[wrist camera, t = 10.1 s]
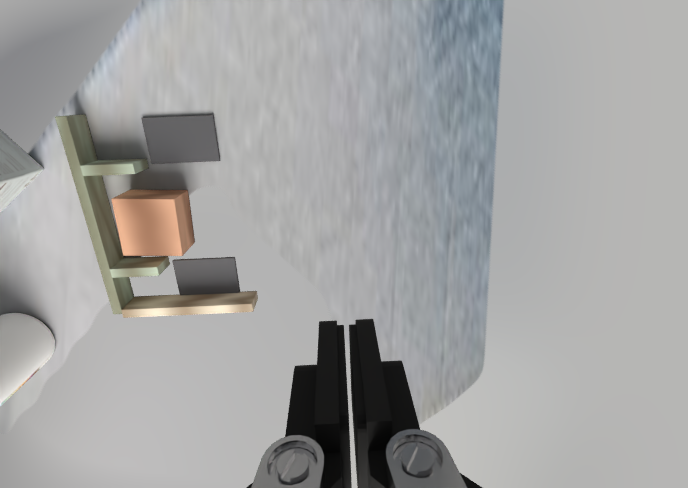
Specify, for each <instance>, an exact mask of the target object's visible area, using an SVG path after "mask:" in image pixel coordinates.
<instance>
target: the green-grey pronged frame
mask: <svg viewBox="0 0 688 488" xmlns="http://www.w3.org/2000/svg"><path fill="white" fill-rule="evenodd" d="M55 118H56V122H57V125H58V129H59V132H60V135H61V139H62V142H63V145H64V149H65V152H66V156H67V159H68V162H69V166H70V169H71V172H72V176H73V179H74V183H75V186H76V189H77V193H78V196H79V200H80V203H81V206H82V210H83V213H84V216H85V220H86V223H87V227H88V230H89V233H90V237H91V240H92V243H93V247H94V250H95V254H96V257H97V260H98V264H99V267H100V270H101V274H102V277H103V281H104V284H105V287H106V291H107V294H108V297H109V301H110V304H111V308H112V311H113V314H123V317H124V318H128V317H149V316H170V315H193V314H214V313H236V312H253V311H254V307H255V305H256V302H257V299H258V297H257V291H247V292H240V293H225V294H203V295H181V296H180V295H159V296H139V297H134V294H133V290H132V287H131V283H130V279H129V277H141V276H159V275H160V274H161V273H162V272H163V271H164V270H165V269H166V268H167V267H168V266H169V264H170V262H169V258H168V256H159V257H136V258H124V257H123V253H122V249H121V246H120V242H119V238H118V234H117V231H116V227H115V223H114V219H113V216H112V212H111V208H110V204H109V201H108V197H107V193H106V189H105V186H104V182H103V178H102V175H121V174H136V173H139V172H141V171H143V170H146V169H148V168H149V167H148V163H147V159H122V160H97V156H96V152H95V148H94V145H93V141H92V137H91V133H90V130H89V126H88V122H87V119H86V115H69V116H58V117H55Z"/></svg>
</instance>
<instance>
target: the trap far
mask: <svg viewBox="0 0 688 488" xmlns="http://www.w3.org/2000/svg"><path fill="white" fill-rule="evenodd" d="M173 265H174V270H175V274H176V279H177V284H178V288H179V292H180V296H181V295H203V294H225V293H240V288H239V281H238V275H237V268H236V261H235V257H225V258H202V259H180V260H173Z"/></svg>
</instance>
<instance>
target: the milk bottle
mask: <svg viewBox="0 0 688 488" xmlns="http://www.w3.org/2000/svg"><path fill="white" fill-rule="evenodd" d="M54 350H55V339H54V336H53V334H52V333H51V331H50V329H49V328H48V327H47V326H46V325H45V324H44V323H42V322H41V321H40V320H38V319H36V318H34V317H32V316H30V315H26V314H22V313H8V314H3V315H0V406H1V405H2V404H3V403H4V402H5V401H6V400H8V399H9V398H10V397H11V396H12V395H13V394H14V393H15V392H16V391H17V390H18V389H19V388H20V387H21V386H22V385H23V384H24V383H25V382H27V381H28V380H29V379H30V378H31V377H32V376H33V375H34V374H35V373H36V372H37V371H38V370H39V369H40V368H41V367H42V366H43V365H44V364H45V363H46V362H47V361H48V360H49V359H50V358H51V357H52V355H53V353H54Z"/></svg>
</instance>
